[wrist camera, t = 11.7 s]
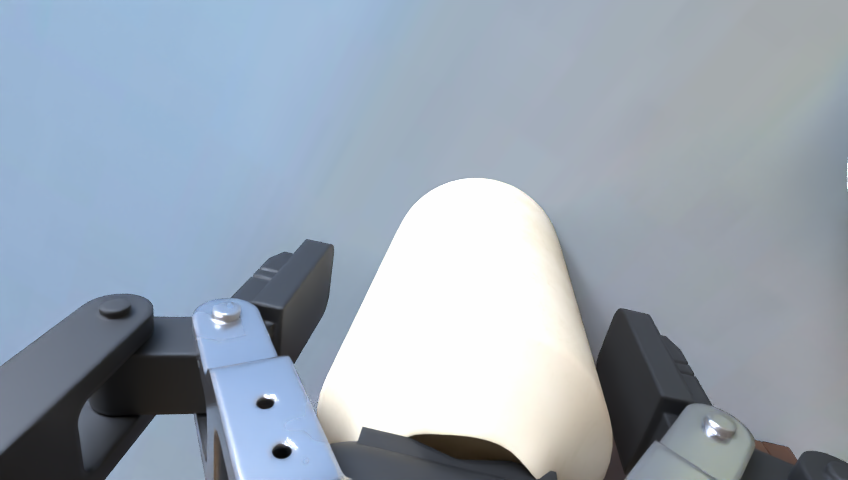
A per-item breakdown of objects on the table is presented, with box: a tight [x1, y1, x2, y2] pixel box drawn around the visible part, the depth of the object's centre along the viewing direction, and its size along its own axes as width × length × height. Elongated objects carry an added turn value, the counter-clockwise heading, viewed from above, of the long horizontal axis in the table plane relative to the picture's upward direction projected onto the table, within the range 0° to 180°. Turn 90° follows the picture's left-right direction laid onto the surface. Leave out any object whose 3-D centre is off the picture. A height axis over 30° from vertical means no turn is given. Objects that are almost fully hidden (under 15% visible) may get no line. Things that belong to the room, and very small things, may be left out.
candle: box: [317, 178, 613, 480], centre depth 13 cm, size 6×6×10 cm
